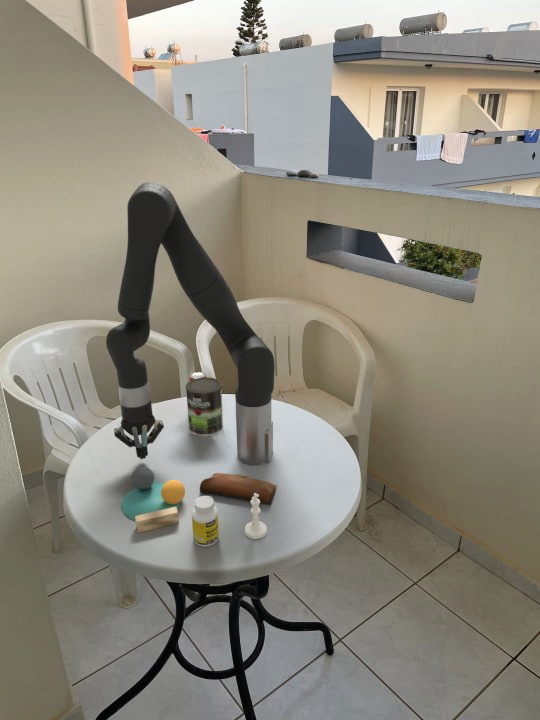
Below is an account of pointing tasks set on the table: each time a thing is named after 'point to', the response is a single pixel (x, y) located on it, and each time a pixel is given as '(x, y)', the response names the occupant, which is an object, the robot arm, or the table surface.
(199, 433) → the coffee can
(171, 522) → the strip
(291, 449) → the table surface
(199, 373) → the beverage can
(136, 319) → the robot arm
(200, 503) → the supplement bottle
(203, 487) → the sunglasses case
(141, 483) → the gray ball
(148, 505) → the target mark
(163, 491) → the object ball
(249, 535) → the chess piece
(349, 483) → the table surface
